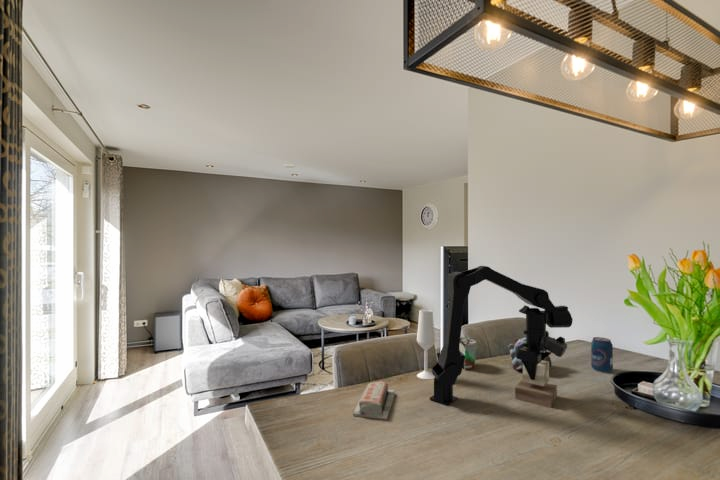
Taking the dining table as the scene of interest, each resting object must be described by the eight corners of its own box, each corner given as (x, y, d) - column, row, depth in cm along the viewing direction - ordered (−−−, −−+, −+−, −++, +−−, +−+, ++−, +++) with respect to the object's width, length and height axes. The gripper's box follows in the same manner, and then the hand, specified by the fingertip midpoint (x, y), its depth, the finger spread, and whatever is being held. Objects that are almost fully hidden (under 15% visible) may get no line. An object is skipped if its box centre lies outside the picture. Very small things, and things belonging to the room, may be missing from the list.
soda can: (587, 369, 141) (587, 338, 141) (596, 366, 145) (596, 335, 145) (607, 374, 135) (607, 342, 135) (616, 371, 139) (615, 339, 139)
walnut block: (550, 409, 107) (550, 395, 108) (515, 400, 114) (515, 387, 114) (556, 397, 115) (556, 385, 115) (523, 390, 122) (523, 378, 122)
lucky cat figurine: (507, 370, 139) (500, 334, 146) (517, 375, 147) (511, 340, 154) (549, 366, 131) (540, 328, 138) (557, 371, 139) (548, 335, 146)
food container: (482, 371, 138) (481, 345, 138) (465, 371, 138) (465, 345, 138) (472, 361, 150) (472, 337, 151) (457, 361, 151) (457, 336, 151)
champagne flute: (435, 379, 130) (435, 312, 130) (416, 378, 131) (416, 312, 131) (434, 373, 136) (434, 309, 137) (416, 372, 137) (416, 308, 138)
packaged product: (387, 403, 100) (352, 400, 102) (387, 421, 100) (352, 417, 102) (394, 379, 118) (364, 377, 120) (394, 394, 118) (364, 392, 120)
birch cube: (543, 386, 110) (543, 366, 110) (522, 381, 114) (522, 362, 114) (548, 380, 115) (548, 361, 115) (529, 376, 119) (528, 357, 119)
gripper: (555, 337, 102) (556, 393, 102) (571, 326, 116) (571, 375, 116) (515, 331, 110) (515, 382, 110) (534, 321, 124) (534, 367, 124)
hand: (535, 377), depth 115 cm, fingers closed on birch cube, 6 cm apart
